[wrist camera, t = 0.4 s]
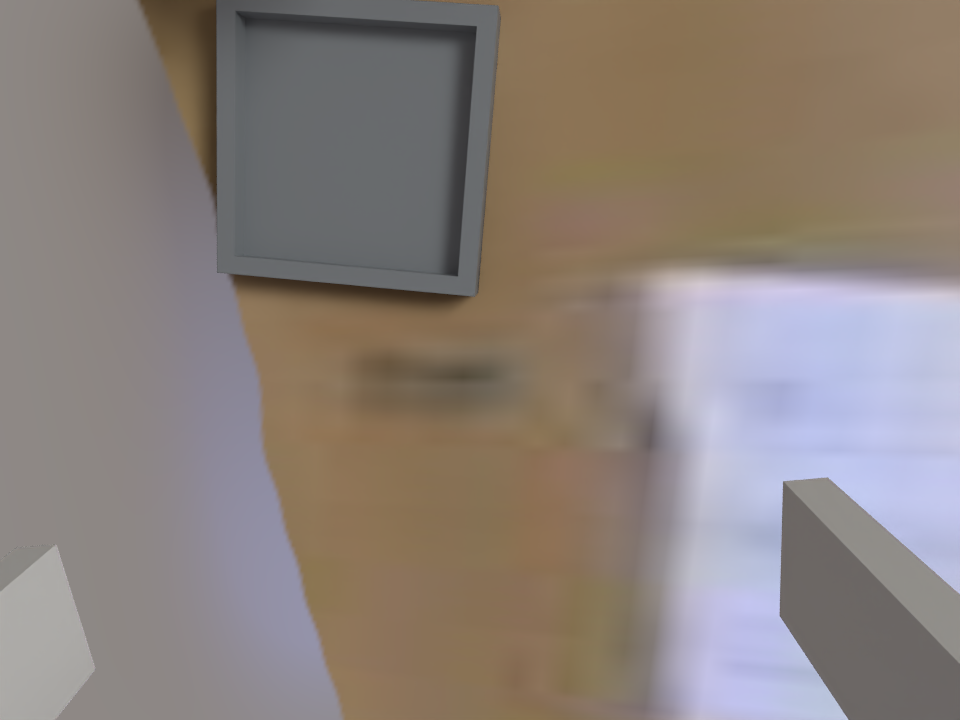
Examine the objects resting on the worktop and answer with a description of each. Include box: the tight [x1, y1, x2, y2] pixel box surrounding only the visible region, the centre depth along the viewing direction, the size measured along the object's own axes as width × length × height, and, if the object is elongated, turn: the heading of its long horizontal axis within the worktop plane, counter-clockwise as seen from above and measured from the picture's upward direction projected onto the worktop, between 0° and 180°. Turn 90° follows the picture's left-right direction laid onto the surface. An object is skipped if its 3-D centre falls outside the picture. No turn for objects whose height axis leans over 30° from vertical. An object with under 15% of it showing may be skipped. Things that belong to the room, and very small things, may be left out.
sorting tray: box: [216, 0, 501, 297], centre depth 35 cm, size 15×15×2 cm
